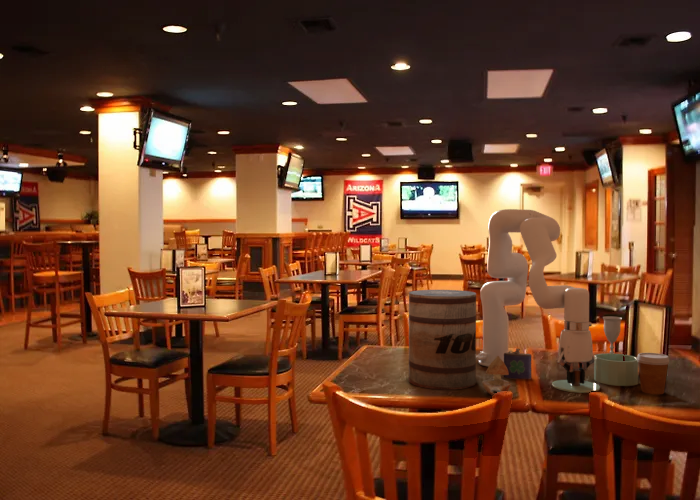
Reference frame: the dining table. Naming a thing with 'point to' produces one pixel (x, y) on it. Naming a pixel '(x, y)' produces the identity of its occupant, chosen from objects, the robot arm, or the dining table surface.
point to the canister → (616, 369)
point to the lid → (576, 385)
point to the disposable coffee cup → (652, 372)
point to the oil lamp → (496, 377)
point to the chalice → (612, 329)
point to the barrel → (442, 339)
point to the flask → (518, 365)
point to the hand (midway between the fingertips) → (575, 382)
